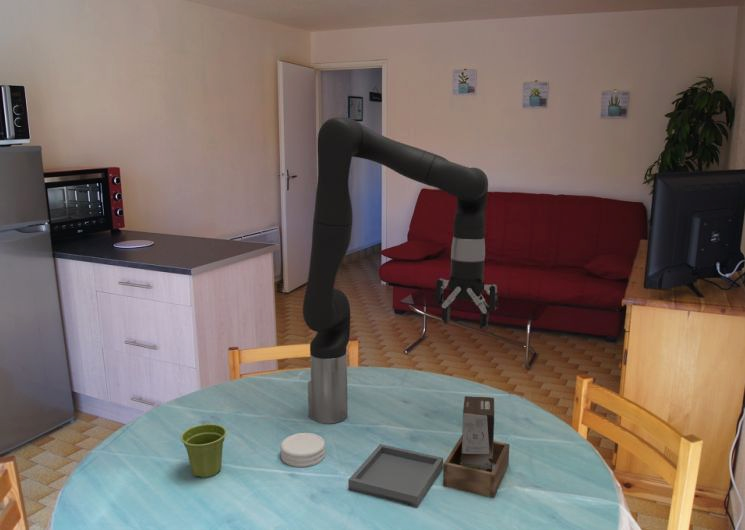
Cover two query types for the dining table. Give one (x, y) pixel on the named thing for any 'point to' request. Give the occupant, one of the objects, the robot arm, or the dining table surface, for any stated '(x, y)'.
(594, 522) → the dining table surface
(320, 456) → the coaster
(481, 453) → the coffee box
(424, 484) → the tray
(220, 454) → the plant pot
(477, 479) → the wooden frame
